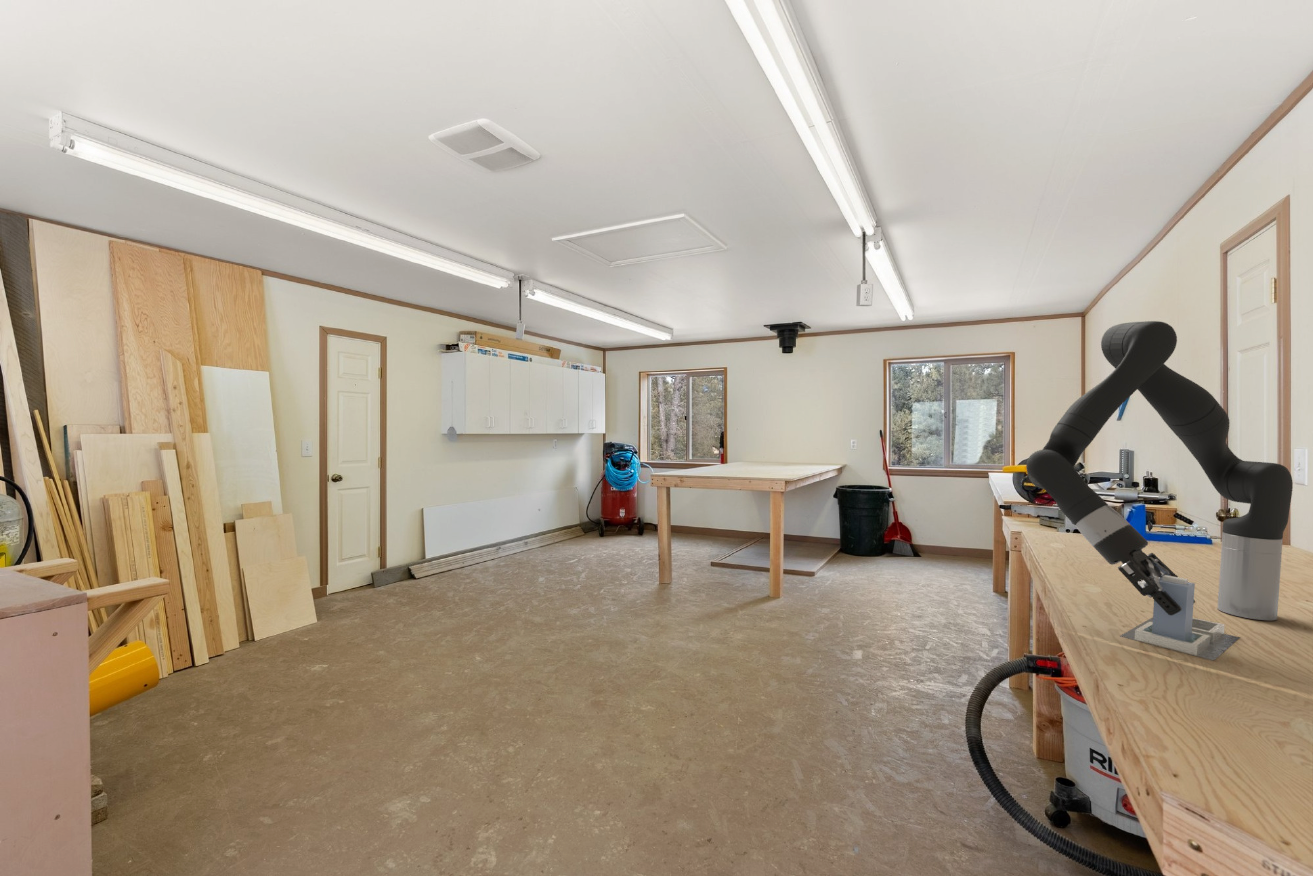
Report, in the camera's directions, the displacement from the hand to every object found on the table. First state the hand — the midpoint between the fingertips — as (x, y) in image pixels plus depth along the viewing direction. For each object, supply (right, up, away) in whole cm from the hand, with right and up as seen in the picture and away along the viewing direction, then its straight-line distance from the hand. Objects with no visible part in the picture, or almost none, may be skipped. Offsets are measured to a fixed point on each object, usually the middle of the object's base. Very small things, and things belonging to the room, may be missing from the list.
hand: (1183, 609), depth 106 cm
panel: (+3, -7, +5) cm, 9 cm away
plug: (-1, -6, +1) cm, 7 cm away
